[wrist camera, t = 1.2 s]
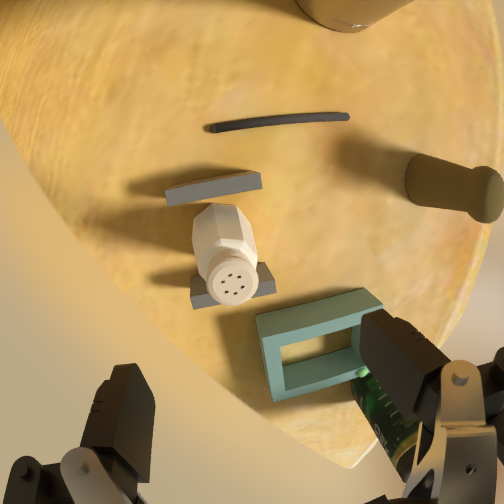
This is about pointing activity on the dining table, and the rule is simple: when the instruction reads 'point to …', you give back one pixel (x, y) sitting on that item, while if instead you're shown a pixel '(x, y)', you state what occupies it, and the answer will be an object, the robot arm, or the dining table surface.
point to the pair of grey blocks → (209, 190)
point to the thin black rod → (278, 121)
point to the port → (306, 327)
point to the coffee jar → (387, 423)
